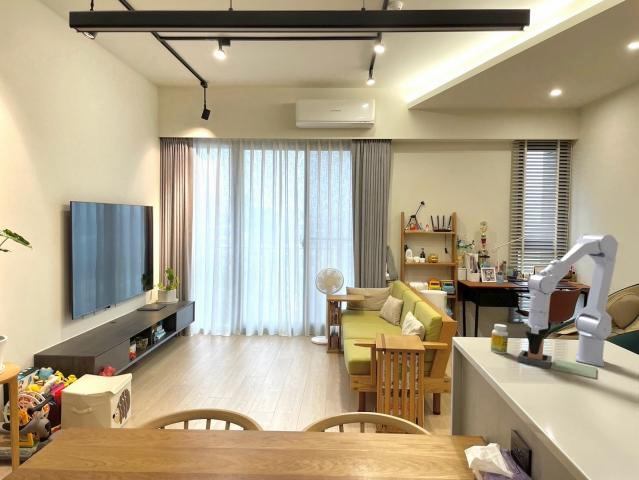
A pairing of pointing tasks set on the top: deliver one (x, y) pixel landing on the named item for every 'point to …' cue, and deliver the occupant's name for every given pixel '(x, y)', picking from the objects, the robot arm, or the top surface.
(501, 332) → the supplement bottle
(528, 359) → the metal collar
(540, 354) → the peg
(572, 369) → the rubber mat
